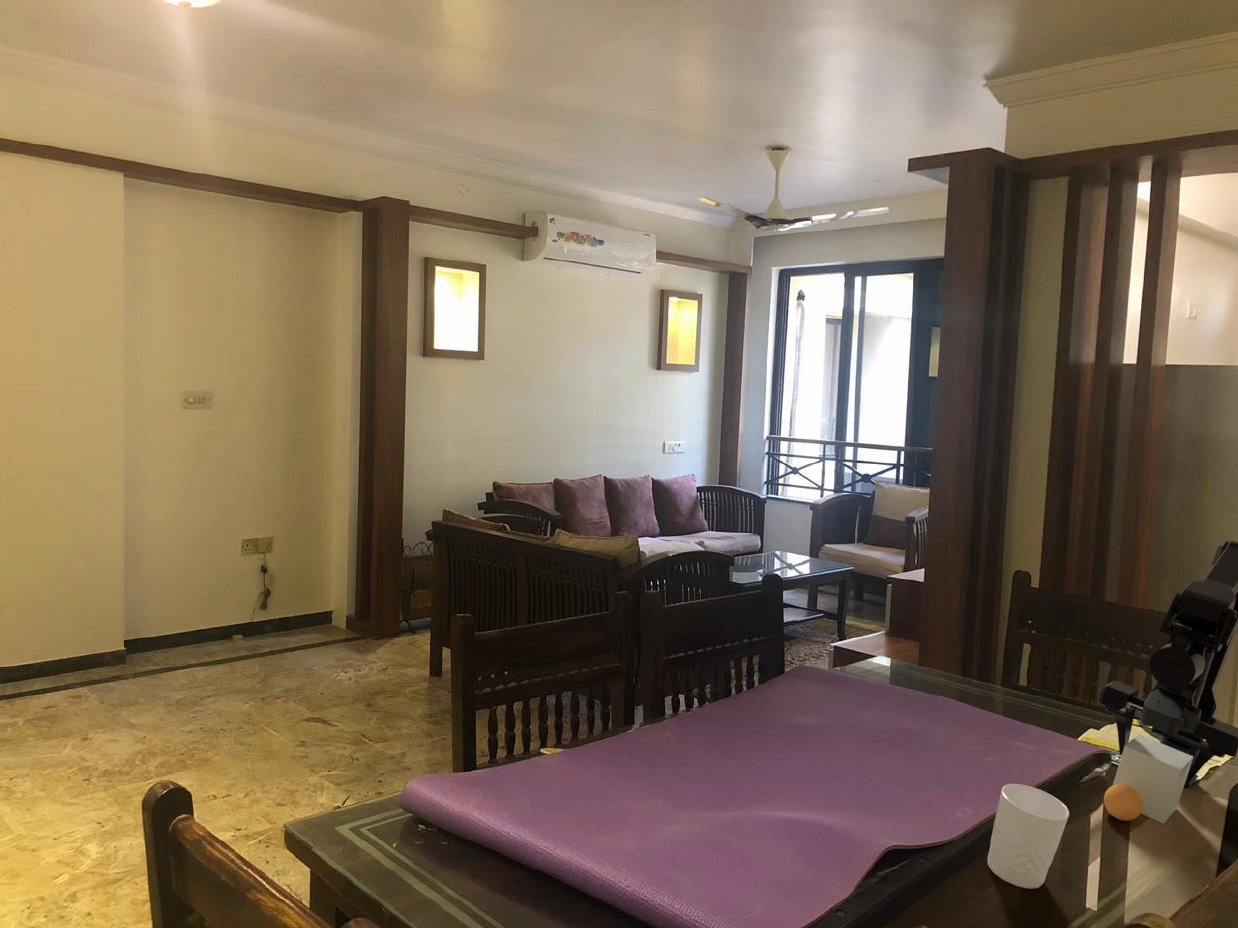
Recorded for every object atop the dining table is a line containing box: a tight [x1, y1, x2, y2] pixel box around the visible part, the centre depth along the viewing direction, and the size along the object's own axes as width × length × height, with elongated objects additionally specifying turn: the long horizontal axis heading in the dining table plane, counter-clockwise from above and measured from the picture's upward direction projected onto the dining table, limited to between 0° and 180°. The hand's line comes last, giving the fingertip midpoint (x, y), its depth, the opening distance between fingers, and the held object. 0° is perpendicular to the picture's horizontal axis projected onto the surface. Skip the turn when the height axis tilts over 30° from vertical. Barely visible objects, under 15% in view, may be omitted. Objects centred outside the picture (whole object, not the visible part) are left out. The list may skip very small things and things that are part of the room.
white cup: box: [987, 783, 1070, 889], centre depth 118 cm, size 8×8×10 cm
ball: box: [1103, 784, 1143, 822], centre depth 138 cm, size 5×5×5 cm
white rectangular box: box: [1112, 733, 1193, 825], centre depth 144 cm, size 8×8×9 cm
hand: (1154, 767), depth 144 cm, fingers open, 9 cm apart
